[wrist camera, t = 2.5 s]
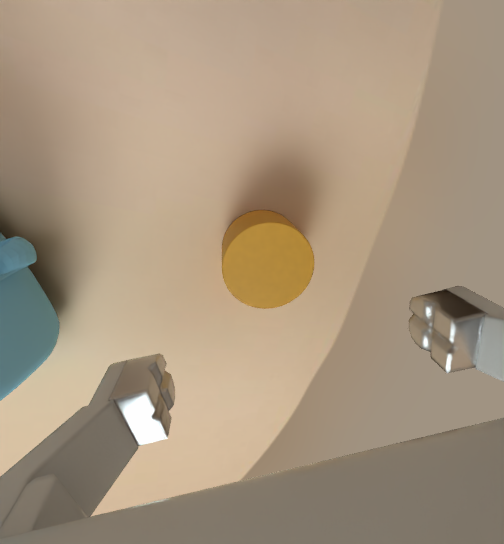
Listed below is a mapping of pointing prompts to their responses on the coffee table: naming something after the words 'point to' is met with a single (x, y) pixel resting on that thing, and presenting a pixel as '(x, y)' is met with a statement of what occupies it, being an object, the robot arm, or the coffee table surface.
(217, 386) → the coffee table surface
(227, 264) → the cylinder
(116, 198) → the coffee table surface
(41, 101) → the coffee table surface
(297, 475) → the robot arm
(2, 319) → the teapot
